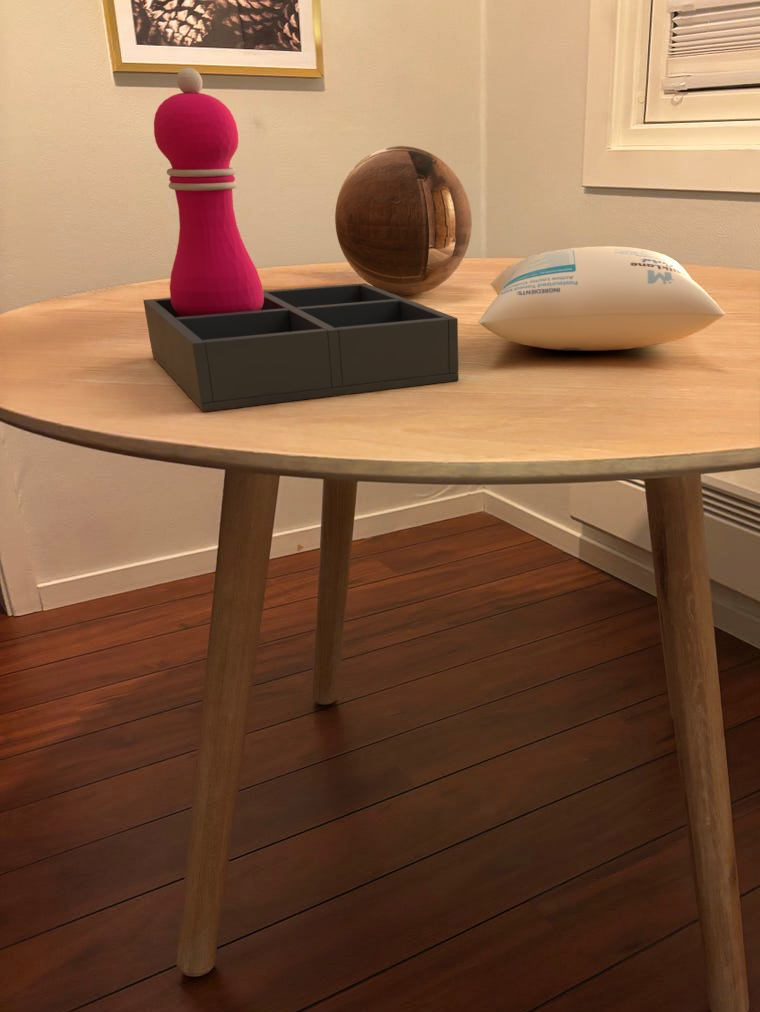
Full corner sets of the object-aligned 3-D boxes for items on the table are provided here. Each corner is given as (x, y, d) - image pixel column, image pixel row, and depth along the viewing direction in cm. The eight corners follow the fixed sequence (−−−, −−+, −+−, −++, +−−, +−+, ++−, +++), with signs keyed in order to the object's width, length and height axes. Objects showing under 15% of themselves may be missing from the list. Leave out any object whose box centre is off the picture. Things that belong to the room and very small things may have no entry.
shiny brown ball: (330, 287, 112) (319, 145, 105) (451, 281, 116) (449, 144, 109) (354, 308, 100) (343, 148, 93) (489, 300, 104) (489, 146, 96)
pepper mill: (160, 354, 77) (113, 66, 67) (228, 339, 82) (193, 70, 72) (221, 366, 73) (181, 63, 63) (288, 349, 78) (260, 67, 69)
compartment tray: (202, 412, 64) (192, 343, 62) (152, 356, 80) (143, 299, 77) (458, 380, 72) (458, 318, 70) (368, 335, 87) (365, 283, 85)
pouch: (491, 236, 89) (479, 254, 71) (694, 242, 89) (733, 262, 71) (488, 323, 93) (476, 361, 75) (684, 330, 92) (718, 370, 74)
